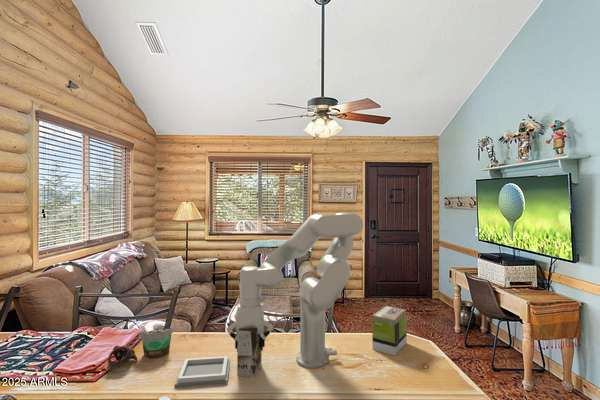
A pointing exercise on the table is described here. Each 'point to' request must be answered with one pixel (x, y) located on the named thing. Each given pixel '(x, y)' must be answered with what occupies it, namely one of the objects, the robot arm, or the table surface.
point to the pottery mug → (118, 354)
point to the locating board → (203, 372)
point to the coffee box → (248, 352)
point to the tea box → (389, 330)
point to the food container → (156, 342)
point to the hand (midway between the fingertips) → (249, 349)
